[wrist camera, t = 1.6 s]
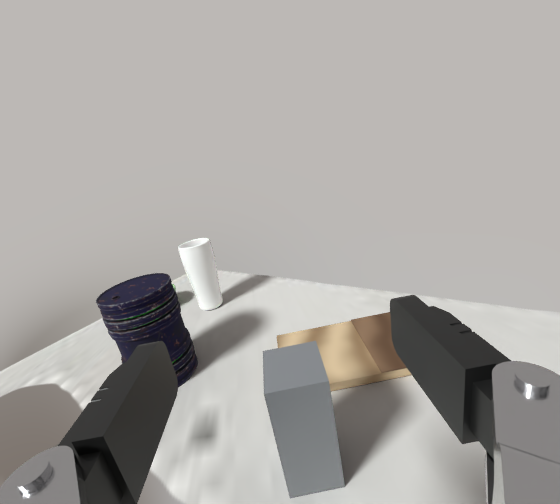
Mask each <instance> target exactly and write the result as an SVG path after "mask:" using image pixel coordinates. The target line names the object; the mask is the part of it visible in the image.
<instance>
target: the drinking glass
mask: <svg viewBox="0 0 560 504" xmlns="http://www.w3.org/2000/svg"><path fill="white" fill-rule="evenodd" d="M178 250H179V254H180V258H181V261H182V264H183V267H184V269H185V272H186V274H187V276H188V279H189V281H190V284H191V286H192V288H193V291H194V293H195V296H196V298H197V301H198V304H199V307H200V308H201V309H202V310H212V309H215V308H217V307H219V306H220V305H221V304H222V302H223V298H222V294H221V290H220V284H219V279H218V273H217V267H216V261H215V256H214V252H213V249H212V246H211V242H210V239H208V238H199V239H194V240H190V241H187V242H185V243H182V244H180V245H179V246H178Z"/></svg>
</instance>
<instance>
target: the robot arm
mask: <svg viewBox="0 0 560 504" xmlns="http://www.w3.org/2000/svg"><path fill="white" fill-rule="evenodd" d="M390 316H391V335H392V342H393V346H394V348H395V351H396V353H397V355H398V356H399V358H400V359H401V360H402V362H403V363H404V364H405V366H406V367H407V369H408V370H409V371H410V373H411V374H412V376H413V377H414V378H415V380H416V381H417V382H418V384H419V385H420V387H421V388H422V389H423V391H424V392H425V393H426V395H427V396H428V398H429V399H430V400H431V402H432V403H433V405H434V406H435V407H436V409H437V410H438V411H439V413H440V414H441V416H442V417H443V418H444V420H445V421H446V422H447V424H448V425H449V427H450V428H451V429H452V431H453V432H454V434H455V435H456V436H457V438H458V439H459V440H460V442H461V443H462V444H465V443H470V442H475V441H479V442H480V443H481V444H482V446H483V447H484V448H485V449H486V454H485V473H486V504H560V375H558V374H556V373H555V372H553V371H551V370H549V369H546V368H544V367H541V366H538V365H535V364H531V363H527V362H520V361H511V360H510V359H508V358H507V357H506V356H504V355H503V354H502V353H501V352H499V351H498V350H497V349H495V348H494V347H493V346H492V345H490V344H489V343H488V342H486V341H485V340H484V339H483V338H481V337H480V336H479V335H477V334H476V333H475V332H472V331H471V329H470V328H468V327H467V326H466V325H465V324H462V323H461V321H459V320H458V319H457V318H456V317H454V316H453V315H452V314H450V313H449V312H446V311H444V310H442V309H439V308H437V307H434V306H431V307H428V306H427V305H426V304H425V303H424V302H422V301H421V300H420V299H419V298H418V297H417V296H415V295H410V296H404V297H399V298H394V299H391V301H390ZM99 389H100V390H99V391H97V393H96V394H95V395H94V397H93V398H92V399H91V403H89V404H88V405H87V406H86V408H85V409H84V410H83V412H82V413H81V415H80V416H79V417H78V419H77V420H76V422H75V423H74V424H73V426H72V427H71V428H70V430H69V431H68V433H67V434H66V435H65V437H64V438H63V440H62V441H61V442H60V444H59V445H58V446H57V447H53V448H50V449H47V450H45V451H43V452H41V453H39V454H38V455H36V456H34V457H33V458H31V459H29V460H28V461H27V462H25V463H24V464H23V465H21V466H20V467H19V468H18V469H17V470H16V471H14V472H13V473H12V474H11V475H10V476H9V477H8V478H7V480H6V481H5V482H4V483H3V484H2V486H1V487H0V504H137V502H138V500H139V497H140V494H141V491H142V489H143V486H144V483H145V481H146V478H147V475H148V472H149V470H150V467H151V464H152V462H153V459H154V456H155V453H156V451H157V448H158V445H159V442H160V440H161V437H162V434H163V431H164V429H165V426H166V423H167V421H168V418H169V415H170V412H171V410H172V407H173V404H174V401H175V399H176V396H177V391H178V381H177V376H176V373H175V370H174V367H173V365H172V362H171V359H170V356H169V353H168V350H167V347H166V345H165V343H164V342H163V341H157V342H152V343H147V344H141V345H138V346H137V347H136V349H135V350H134V351H133V353H132V354H131V356H130V357H129V359H128V360H127V362H125V363H123V364H121V365H120V366H119V367H118V368H117V369H116V370H115V371H113V372H112V373H111V374H110V375H109V376H108V377H107V379H106V380H105V382H104V383H103V384H102V386H101V387H100V388H99Z"/></svg>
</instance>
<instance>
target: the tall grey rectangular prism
mask: <svg viewBox="0 0 560 504" xmlns="http://www.w3.org/2000/svg"><path fill="white" fill-rule="evenodd" d="M263 374H264V396H265V400H266V404H267V408H268V412H269V416H270V420H271V424H272V428H273V432H274V436H275V440H276V444H277V448H278V452H279V456H280V460H281V464H282V468H283V472H284V476H285V480H286V484H287V488H288V492H289V496H290V498H294V497H298V496H303V495H308V494H313V493H317V492H322V491H327V490H332V489H337V488H341V487H345V483H344V477H343V470H342V464H341V457H340V450H339V444H338V437H337V430H336V424H335V417H334V411H333V404H332V397H331V391H330V384H329V379H328V376H327V373H326V370H325V367H324V364H323V361H322V358H321V355H320V352H319V349H318V346H317V343H316V341H312V342H307V343H302V344H297V345H292V346H287V347H282V348H277V349H272V350H267V351H263Z"/></svg>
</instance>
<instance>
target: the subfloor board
mask: <svg viewBox="0 0 560 504" xmlns="http://www.w3.org/2000/svg"><path fill="white" fill-rule="evenodd" d="M312 341H316V343H317V346H318V349H319V352H320V355H321V358H322V361H323V364H324V367H325V370H326V373H327V376H328V379H329V384H330V391H335V390H340V389H345V388H350V387H355V386H360V385H364V384H369V383H374V382H379V381H384V380H389V379H394V378H399V377H404V376H409V375H412V374H411V373H410V371H409V370H408V369H407V367H406V366H405V364H404V363H403V362H402V360H401V359H400V358H399V356H398V355H397V353H396V351H395V348H394V346H393V342H392V335H391V316H390V312H388V313H383V314H378V315H373V316H368V317H363V318H358V319H353V320H351V321H348V322H343V323H338V324H333V325H328V326H323V327H318V328H313V329H308V330H303V331H298V332H293V333H288V334H283V335H278V336H277V343H278V348H282V347H287V346H292V345H297V344H302V343H307V342H312Z"/></svg>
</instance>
